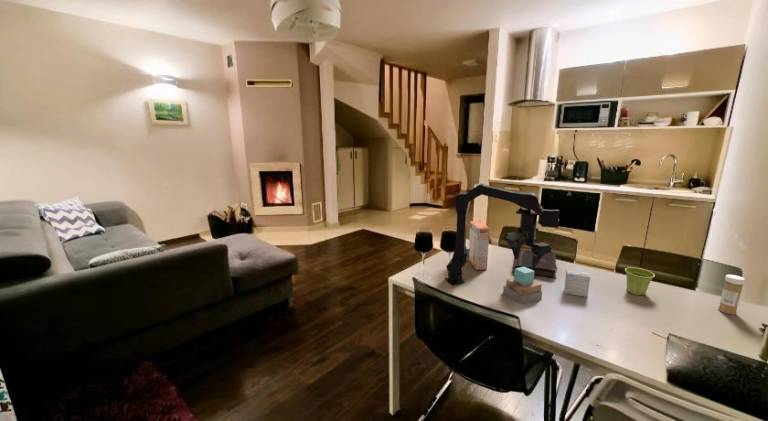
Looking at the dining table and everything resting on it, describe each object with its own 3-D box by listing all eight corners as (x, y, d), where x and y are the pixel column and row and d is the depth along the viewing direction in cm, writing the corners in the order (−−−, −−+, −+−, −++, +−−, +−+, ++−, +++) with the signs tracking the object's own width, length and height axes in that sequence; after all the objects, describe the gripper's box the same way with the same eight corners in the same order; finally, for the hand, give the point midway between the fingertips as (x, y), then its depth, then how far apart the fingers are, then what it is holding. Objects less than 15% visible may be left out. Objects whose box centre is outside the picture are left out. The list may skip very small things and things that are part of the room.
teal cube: (513, 280, 127) (514, 268, 126) (523, 278, 129) (524, 266, 128) (523, 285, 122) (524, 273, 121) (533, 283, 124) (534, 271, 123)
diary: (512, 274, 148) (513, 264, 147) (516, 256, 170) (516, 247, 169) (558, 280, 140) (559, 270, 139) (555, 260, 162) (556, 251, 161)
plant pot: (652, 291, 129) (655, 271, 127) (649, 300, 122) (653, 279, 120) (623, 284, 135) (626, 265, 133) (620, 292, 128) (623, 272, 126)
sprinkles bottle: (739, 314, 112) (748, 278, 109) (730, 315, 111) (739, 280, 108) (723, 307, 116) (731, 273, 113) (714, 309, 115) (722, 274, 112)
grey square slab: (503, 293, 130) (503, 285, 129) (521, 288, 133) (522, 281, 133) (522, 305, 121) (522, 296, 120) (541, 299, 124) (542, 291, 124)
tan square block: (506, 286, 128) (506, 279, 128) (522, 282, 132) (523, 275, 131) (523, 296, 120) (524, 288, 120) (540, 291, 124) (541, 284, 123)
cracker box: (487, 270, 151) (490, 228, 147) (475, 270, 151) (477, 228, 147) (479, 259, 165) (481, 220, 160) (467, 259, 165) (469, 220, 160)
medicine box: (586, 292, 129) (588, 272, 127) (587, 297, 125) (590, 277, 123) (563, 289, 132) (566, 269, 130) (564, 293, 128) (567, 273, 126)
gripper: (494, 221, 128) (492, 258, 132) (530, 234, 111) (527, 275, 115) (516, 218, 132) (513, 254, 136) (554, 230, 115) (550, 270, 119)
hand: (524, 263), depth 126 cm, fingers open, 9 cm apart
